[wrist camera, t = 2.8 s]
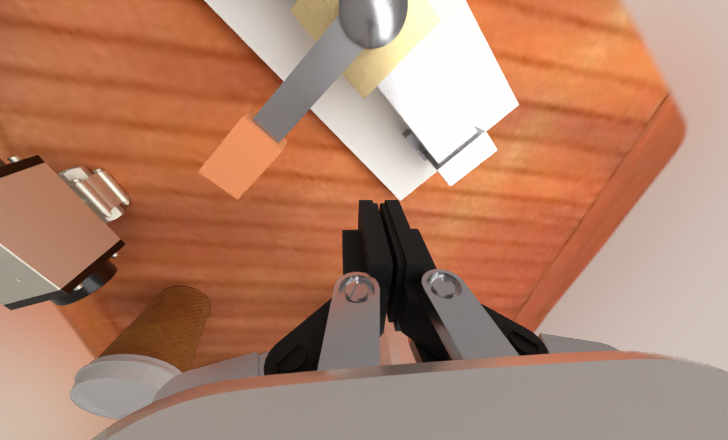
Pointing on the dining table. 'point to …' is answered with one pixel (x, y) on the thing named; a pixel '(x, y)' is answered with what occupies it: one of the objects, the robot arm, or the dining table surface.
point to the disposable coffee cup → (144, 355)
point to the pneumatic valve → (55, 232)
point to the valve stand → (393, 85)
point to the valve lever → (302, 91)
